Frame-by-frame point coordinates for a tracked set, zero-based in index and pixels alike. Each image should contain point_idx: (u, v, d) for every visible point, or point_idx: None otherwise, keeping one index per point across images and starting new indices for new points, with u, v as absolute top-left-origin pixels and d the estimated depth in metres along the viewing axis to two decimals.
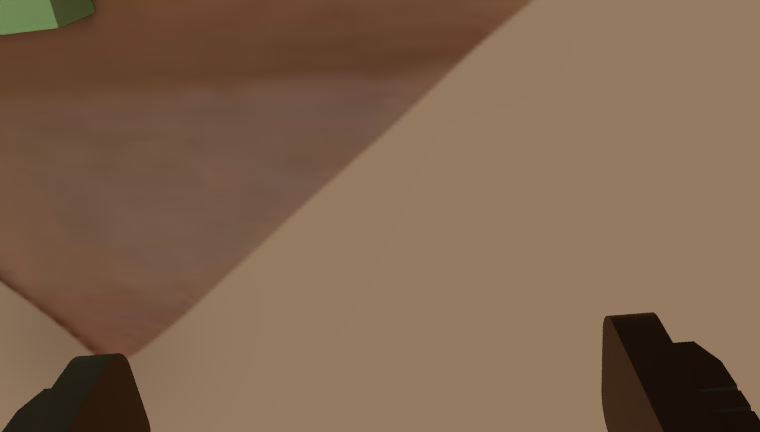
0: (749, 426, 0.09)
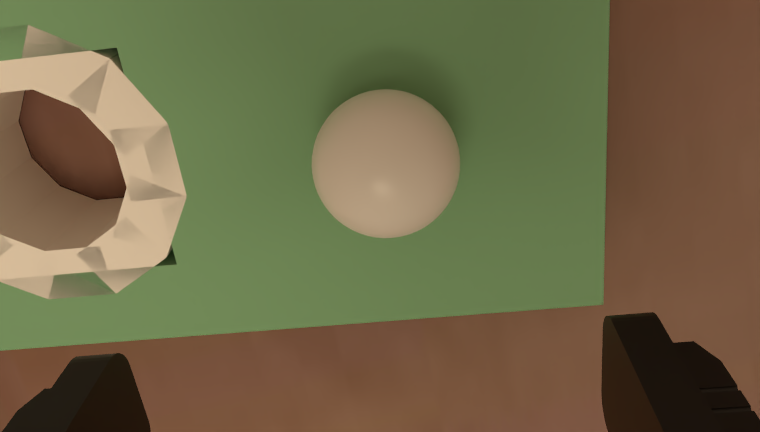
0: (749, 426, 0.09)
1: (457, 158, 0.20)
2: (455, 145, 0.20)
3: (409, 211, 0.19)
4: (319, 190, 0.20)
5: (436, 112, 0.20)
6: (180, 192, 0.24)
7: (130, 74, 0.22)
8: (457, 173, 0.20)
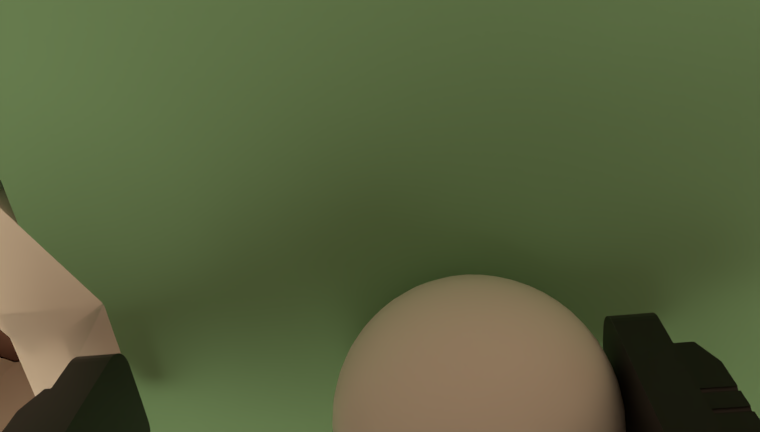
0: (750, 426, 0.09)
1: None
2: (617, 429, 0.09)
3: None
4: None
5: (584, 356, 0.09)
6: None
7: (29, 224, 0.12)
8: None
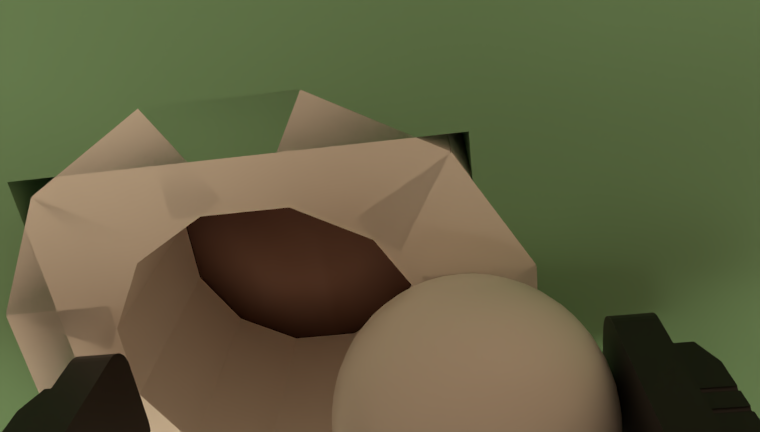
0: (749, 426, 0.09)
1: None
2: None
3: None
4: None
5: (358, 342, 0.10)
6: None
7: (484, 180, 0.11)
8: None
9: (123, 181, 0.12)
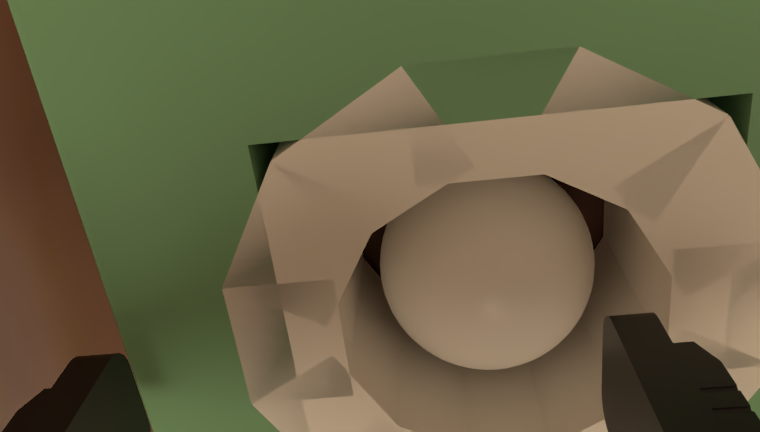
0: (749, 426, 0.09)
1: None
2: None
3: (561, 331, 0.13)
4: (416, 321, 0.13)
5: None
6: None
7: (759, 146, 0.11)
8: None
9: (372, 145, 0.11)
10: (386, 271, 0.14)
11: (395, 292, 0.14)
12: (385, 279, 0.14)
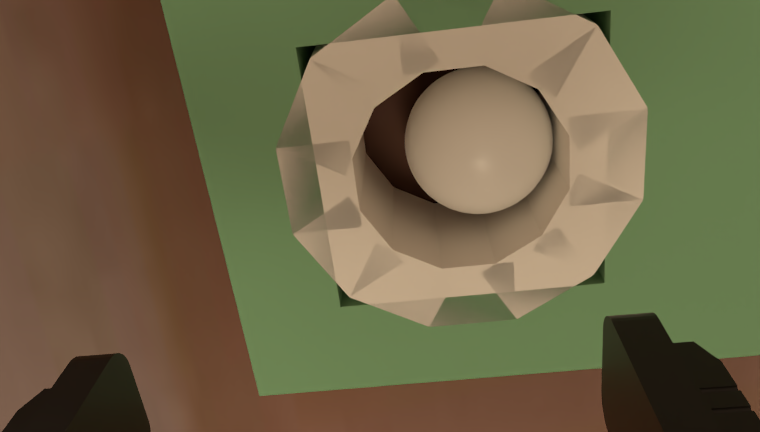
0: (749, 426, 0.09)
1: None
2: None
3: (543, 170, 0.20)
4: (455, 177, 0.19)
5: None
6: (636, 195, 0.19)
7: (618, 45, 0.17)
8: None
9: (374, 46, 0.17)
10: (424, 149, 0.19)
11: (436, 161, 0.19)
12: (423, 156, 0.20)
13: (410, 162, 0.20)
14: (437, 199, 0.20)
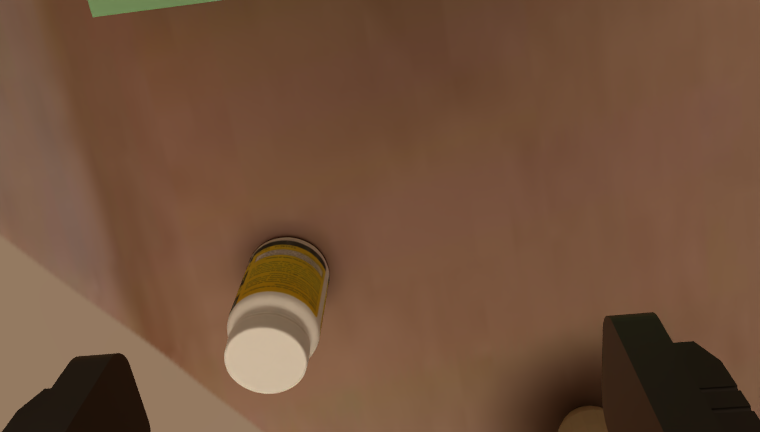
0: (749, 426, 0.09)
1: None
2: None
3: None
4: None
5: None
6: None
7: None
8: None
9: None
10: None
11: None
12: None
13: None
14: None
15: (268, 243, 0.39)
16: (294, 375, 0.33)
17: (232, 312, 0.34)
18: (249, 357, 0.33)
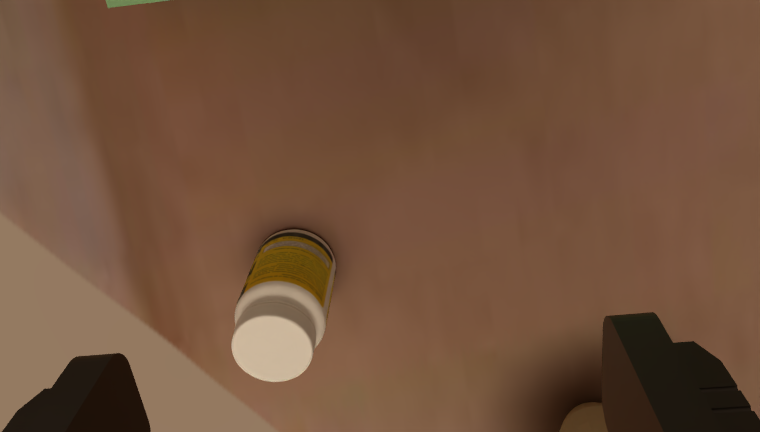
0: (749, 426, 0.09)
1: None
2: None
3: None
4: None
5: None
6: None
7: None
8: None
9: None
10: None
11: None
12: None
13: None
14: None
15: (276, 235, 0.39)
16: (300, 364, 0.34)
17: (240, 301, 0.35)
18: (256, 345, 0.33)
